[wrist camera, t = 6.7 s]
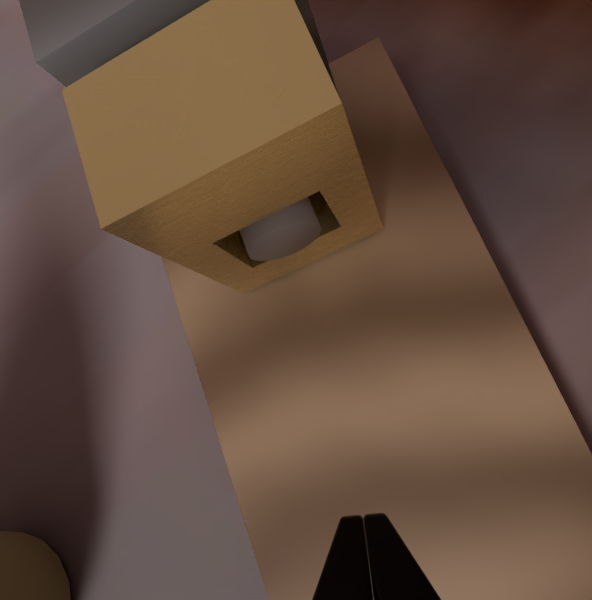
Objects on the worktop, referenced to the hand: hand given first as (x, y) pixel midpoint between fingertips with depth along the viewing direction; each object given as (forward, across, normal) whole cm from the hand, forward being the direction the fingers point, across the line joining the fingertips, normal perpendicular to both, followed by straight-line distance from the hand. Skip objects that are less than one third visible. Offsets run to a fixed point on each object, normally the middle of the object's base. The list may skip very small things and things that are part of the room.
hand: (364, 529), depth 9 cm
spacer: (+12, +1, -3) cm, 13 cm away
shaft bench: (+10, 0, +2) cm, 10 cm away
